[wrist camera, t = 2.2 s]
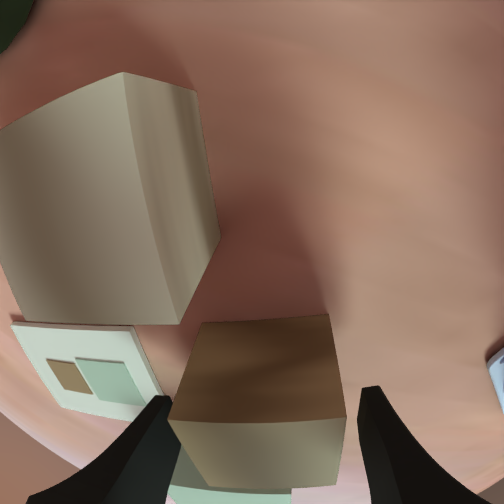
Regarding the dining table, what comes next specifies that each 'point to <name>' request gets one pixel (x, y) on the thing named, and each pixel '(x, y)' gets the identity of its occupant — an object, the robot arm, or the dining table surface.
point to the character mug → (12, 19)
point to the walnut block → (263, 404)
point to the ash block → (107, 204)
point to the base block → (216, 488)
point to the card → (91, 367)
